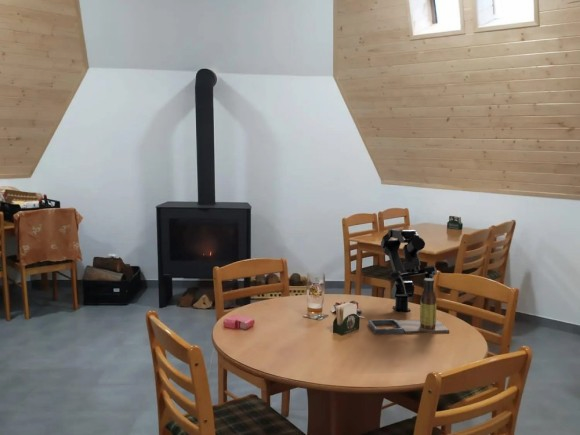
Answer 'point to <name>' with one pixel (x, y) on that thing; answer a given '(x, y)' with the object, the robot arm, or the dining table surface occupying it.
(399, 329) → the grey square frame
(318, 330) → the dining table surface
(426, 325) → the sauce bottle
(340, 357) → the dining table surface
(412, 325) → the brown flat slab
